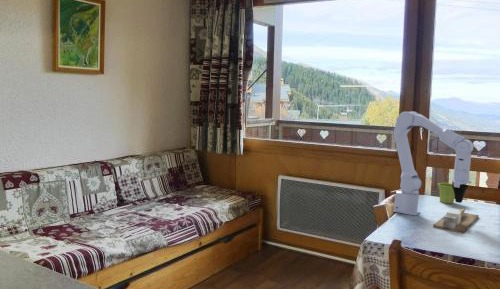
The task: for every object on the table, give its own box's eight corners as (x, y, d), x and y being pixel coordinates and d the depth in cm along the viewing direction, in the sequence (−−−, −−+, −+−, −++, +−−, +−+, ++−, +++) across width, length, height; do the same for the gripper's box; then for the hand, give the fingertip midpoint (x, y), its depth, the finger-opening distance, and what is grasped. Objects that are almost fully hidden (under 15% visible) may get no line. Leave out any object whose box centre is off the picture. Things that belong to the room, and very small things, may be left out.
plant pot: (458, 202, 227) (460, 184, 226) (455, 205, 219) (457, 187, 218) (438, 199, 232) (440, 182, 231) (434, 202, 224) (436, 184, 223)
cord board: (433, 227, 182) (434, 214, 181) (451, 212, 206) (452, 201, 205) (463, 233, 175) (464, 220, 175) (478, 217, 200) (479, 206, 199)
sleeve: (445, 222, 184) (446, 212, 184) (448, 220, 188) (449, 209, 188) (457, 225, 182) (458, 214, 181) (460, 222, 186) (461, 211, 185)
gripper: (469, 173, 180) (465, 207, 181) (476, 168, 192) (472, 200, 193) (449, 170, 184) (446, 203, 186) (457, 166, 196) (454, 197, 197)
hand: (458, 202), depth 190 cm, fingers closed
